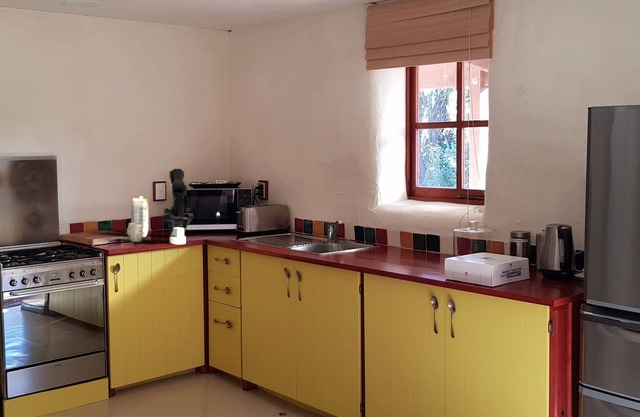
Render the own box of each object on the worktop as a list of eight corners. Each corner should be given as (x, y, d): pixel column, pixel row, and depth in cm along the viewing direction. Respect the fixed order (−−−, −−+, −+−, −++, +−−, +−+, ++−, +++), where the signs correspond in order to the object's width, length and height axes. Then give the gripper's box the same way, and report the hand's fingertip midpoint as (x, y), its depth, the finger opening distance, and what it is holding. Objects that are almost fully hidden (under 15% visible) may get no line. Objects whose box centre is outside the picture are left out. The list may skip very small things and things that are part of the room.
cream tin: (178, 241, 435) (178, 235, 434) (188, 243, 429) (189, 236, 429) (166, 243, 428) (166, 236, 427) (176, 245, 422) (177, 238, 422)
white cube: (178, 235, 431) (178, 227, 431) (184, 236, 428) (184, 228, 428) (171, 236, 428) (171, 227, 427) (177, 237, 424) (177, 228, 424)
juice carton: (148, 235, 452) (149, 196, 449) (146, 237, 444) (146, 197, 441) (133, 235, 452) (133, 195, 449) (130, 237, 444) (130, 196, 441)
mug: (134, 242, 424) (135, 225, 423) (120, 239, 431) (120, 222, 430) (146, 241, 430) (146, 224, 429) (132, 238, 438) (132, 221, 437)
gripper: (181, 202, 438) (180, 228, 440) (156, 204, 424) (155, 231, 425) (194, 204, 431) (193, 231, 433) (169, 206, 417) (168, 233, 418)
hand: (177, 231), depth 428 cm, fingers open, 9 cm apart
